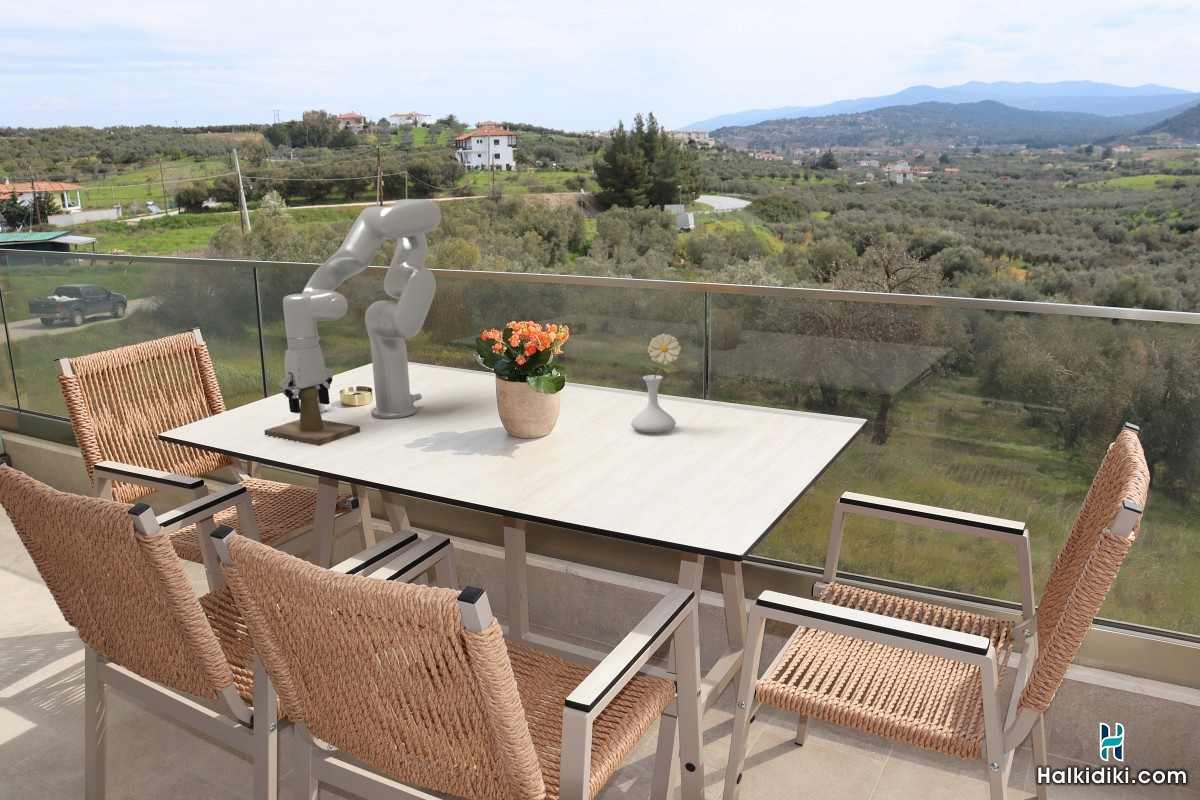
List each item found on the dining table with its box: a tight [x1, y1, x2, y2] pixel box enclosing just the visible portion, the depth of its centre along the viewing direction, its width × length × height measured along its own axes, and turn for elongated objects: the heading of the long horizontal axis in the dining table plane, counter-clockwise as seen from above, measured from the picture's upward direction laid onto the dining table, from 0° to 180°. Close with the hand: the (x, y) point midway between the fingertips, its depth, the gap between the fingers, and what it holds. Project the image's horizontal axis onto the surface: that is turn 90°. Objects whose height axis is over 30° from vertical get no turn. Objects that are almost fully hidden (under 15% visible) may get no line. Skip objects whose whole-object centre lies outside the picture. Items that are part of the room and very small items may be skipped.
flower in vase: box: [630, 333, 682, 433], centre depth 229 cm, size 13×11×25 cm
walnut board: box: [264, 418, 361, 446], centre depth 237 cm, size 14×20×2 cm
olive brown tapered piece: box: [297, 387, 324, 431], centre depth 236 cm, size 6×6×11 cm
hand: (310, 408), depth 236 cm, fingers open, 9 cm apart
